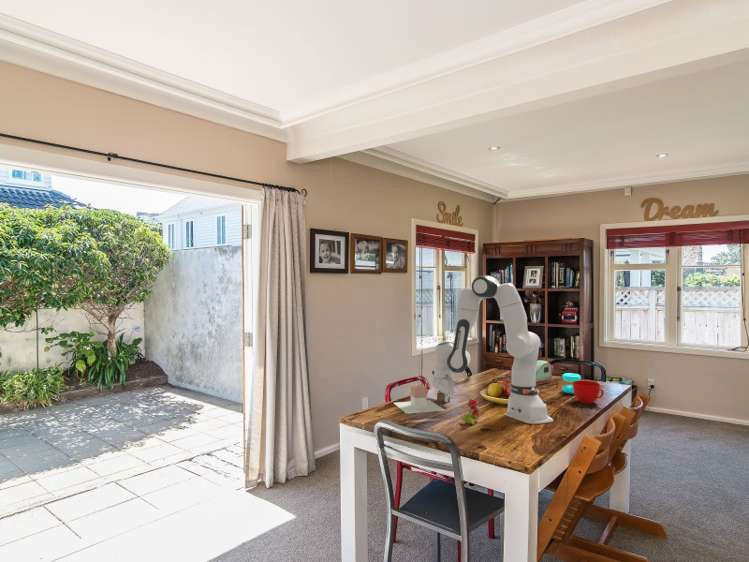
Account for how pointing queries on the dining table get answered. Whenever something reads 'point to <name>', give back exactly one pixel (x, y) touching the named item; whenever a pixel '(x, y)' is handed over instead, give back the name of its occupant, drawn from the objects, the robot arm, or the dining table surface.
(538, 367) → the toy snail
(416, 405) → the block
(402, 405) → the baseplate
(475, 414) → the bird rattle
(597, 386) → the ceramic cup
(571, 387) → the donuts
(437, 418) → the dining table surface
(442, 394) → the walnut cube
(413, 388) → the block
